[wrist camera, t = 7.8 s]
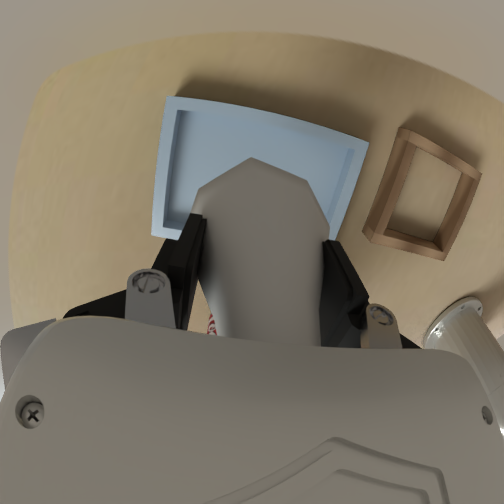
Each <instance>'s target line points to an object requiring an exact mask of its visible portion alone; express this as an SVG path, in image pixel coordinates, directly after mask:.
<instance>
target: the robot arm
mask: <svg viewBox="0 0 504 504" xmlns="http://www.w3.org/2000/svg"><path fill="white" fill-rule="evenodd" d="M206 221H207V219H204V218H203V215H201V214H195V213H190V214H189V217H188V219H187V221H186V223H185V226H184V228H183V230H182V232H181V235H180V237H179V239H178V240H174V239H168V238H166V240H165V242H164V244H163V246H162V248H161V250H160V252H159V254H158V256H157V258H156V260H155V262H154V264H153V266H152V268H151V269H141V270H138V271H136V272H134V273H132V274H131V275H130V276H129V278H128V281H127V289H126V290H123V291H120V292H117V293H114V294H112V295H109V296H106V297H103V298H100V299H97V300H94V301H92V302H89V303H86V304H83V305H80V306H77V307H75V308H73V309H71V310H69V311H68V312H67V313H66V314H65V316H64V317H63V319H60V320H58V321H56V318H55V319H51V320H47V321H43V322H39V323H36V324H32V325H28V326H24V327H20V328H16V329H13V330H11V331H8V332H7V333H6V334H5V335H4V336H3V338H2V340H1V346H0V348H1V360H2V370H3V378H4V384H5V392H4V395H3V397H2V400H1V402H0V504H504V351H503V350H502V348H501V347H500V345H499V343H498V342H497V340H496V339H495V337H494V336H493V334H492V333H491V331H490V330H489V328H488V327H487V325H486V324H485V323H484V321H483V320H482V318H481V315H482V311H483V306H482V303H481V302H480V301H479V299H478V298H476V297H467V298H464V299H461V300H459V301H457V302H456V303H454V304H453V305H451V306H450V307H449V308H447V309H446V310H445V311H444V312H443V313H442V314H441V315H440V316H439V317H438V318H437V319H436V320H435V321H434V322H433V324H432V325H431V326H430V328H429V329H428V331H427V333H426V335H425V337H424V341H423V346H424V348H425V349H422V348H420V347H419V346H417V345H416V344H415V343H413V342H412V341H410V340H409V339H407V338H406V337H404V336H403V335H402V334H400V333H399V329H398V325H397V320H396V318H395V316H394V314H393V313H392V312H391V311H390V310H389V309H387V308H386V307H384V306H382V305H380V304H369V302H368V299H369V295H368V293H367V291H366V289H365V287H364V285H363V283H362V281H361V280H360V278H359V276H358V274H357V272H356V270H355V269H354V267H353V265H352V263H351V261H350V260H349V258H348V256H347V254H346V253H345V251H344V249H343V247H342V246H341V244H340V242H339V241H334V240H329V239H327V240H326V241H325V242H324V241H323V242H322V244H323V255H324V274H323V282H322V290H321V298H320V305H319V321H320V338H321V347H318V346H304V345H292V344H281V343H272V342H263V341H254V340H246V339H239V338H231V337H224V336H217V335H211V334H204V333H198V332H192V331H187V328H188V323H189V318H190V314H191V309H192V304H193V300H194V295H195V290H196V286H197V282H198V277H197V274H198V267H199V261H200V255H201V249H202V244H203V238H204V232H205V227H206Z"/></svg>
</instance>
